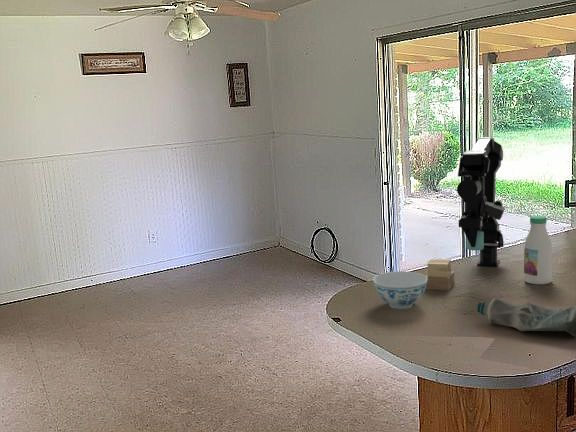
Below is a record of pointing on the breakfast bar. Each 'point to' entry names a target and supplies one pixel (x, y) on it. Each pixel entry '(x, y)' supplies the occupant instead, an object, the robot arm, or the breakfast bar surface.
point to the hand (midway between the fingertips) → (474, 244)
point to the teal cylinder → (477, 242)
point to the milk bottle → (538, 253)
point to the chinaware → (400, 288)
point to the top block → (439, 267)
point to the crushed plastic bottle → (530, 316)
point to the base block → (440, 282)
